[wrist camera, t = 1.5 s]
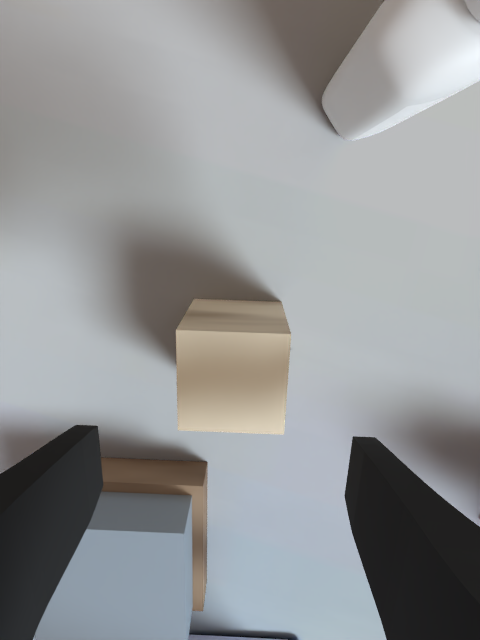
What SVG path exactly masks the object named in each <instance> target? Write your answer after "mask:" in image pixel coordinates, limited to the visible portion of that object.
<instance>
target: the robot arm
mask: <svg viewBox="0 0 480 640" xmlns="http://www.w3.org/2000/svg"><path fill="white" fill-rule="evenodd" d="M102 488H103V475H102V465H101V455H100V445H99V435H98V426H87V425H76V426H74V427H72V428H71V429H69V430H67V431H66V432H64V433H63V434H61V435H60V436H58V437H57V438H55V439H54V440H52V441H51V442H49V443H48V444H46V445H45V446H43V447H42V448H40V449H39V450H37V451H36V452H34V453H33V454H31V455H30V456H28V457H26V458H25V459H23V460H22V461H20V462H19V463H17V464H16V465H14V466H13V467H11V468H10V469H8V470H6V471H5V472H3V473H1V474H0V640H33V637H34V635H35V632H36V630H37V628H38V625H39V623H40V621H41V619H42V616H43V614H44V612H45V610H46V608H47V606H48V604H49V602H50V600H51V598H52V596H53V594H54V592H55V590H56V588H57V586H58V584H59V582H60V580H61V578H62V576H63V574H64V572H65V570H66V568H67V567H68V565H69V563H70V561H71V559H72V557H73V555H74V553H75V551H76V549H77V547H78V545H79V543H80V541H81V539H82V537H83V535H84V533H85V531H86V529H87V527H88V525H89V523H90V521H91V518H92V516H93V513H94V511H95V508H96V505H97V502H98V500H99V497H100V494H101V491H102ZM345 500H346V505H347V511H348V516H349V520H350V525H351V530H352V534H353V537H354V540H355V543H356V546H357V549H358V552H359V555H360V558H361V561H362V564H363V567H364V570H365V573H366V576H367V579H368V582H369V585H370V588H371V591H372V594H373V597H374V600H375V603H376V606H377V609H378V612H379V615H380V618H381V621H382V625H383V628H384V631H385V635H386V638H387V640H480V527H479V526H478V525H476V524H475V523H474V522H472V521H471V520H470V519H468V518H467V517H466V516H464V515H463V514H462V513H461V512H459V511H458V510H457V509H456V508H454V507H453V506H452V505H451V504H449V503H448V502H447V501H446V500H444V499H443V498H442V497H441V496H440V495H439V494H437V493H436V492H435V491H434V490H433V489H431V488H430V487H429V486H428V485H427V484H426V483H425V482H423V481H422V480H421V479H420V478H419V477H418V476H417V475H416V474H414V473H413V472H412V471H411V470H410V469H409V468H408V467H407V466H406V465H405V464H404V463H402V462H401V461H400V460H399V459H398V458H397V457H396V456H395V455H394V454H393V453H392V452H391V451H390V450H388V449H387V448H386V447H385V446H384V445H383V444H382V443H381V442H380V441H378V440H377V439H376V438H375V437H353V440H352V447H351V454H350V462H349V469H348V476H347V483H346V490H345ZM188 640H286V639H267V638H247V637H228V636H209V635H189V637H188Z"/></svg>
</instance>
